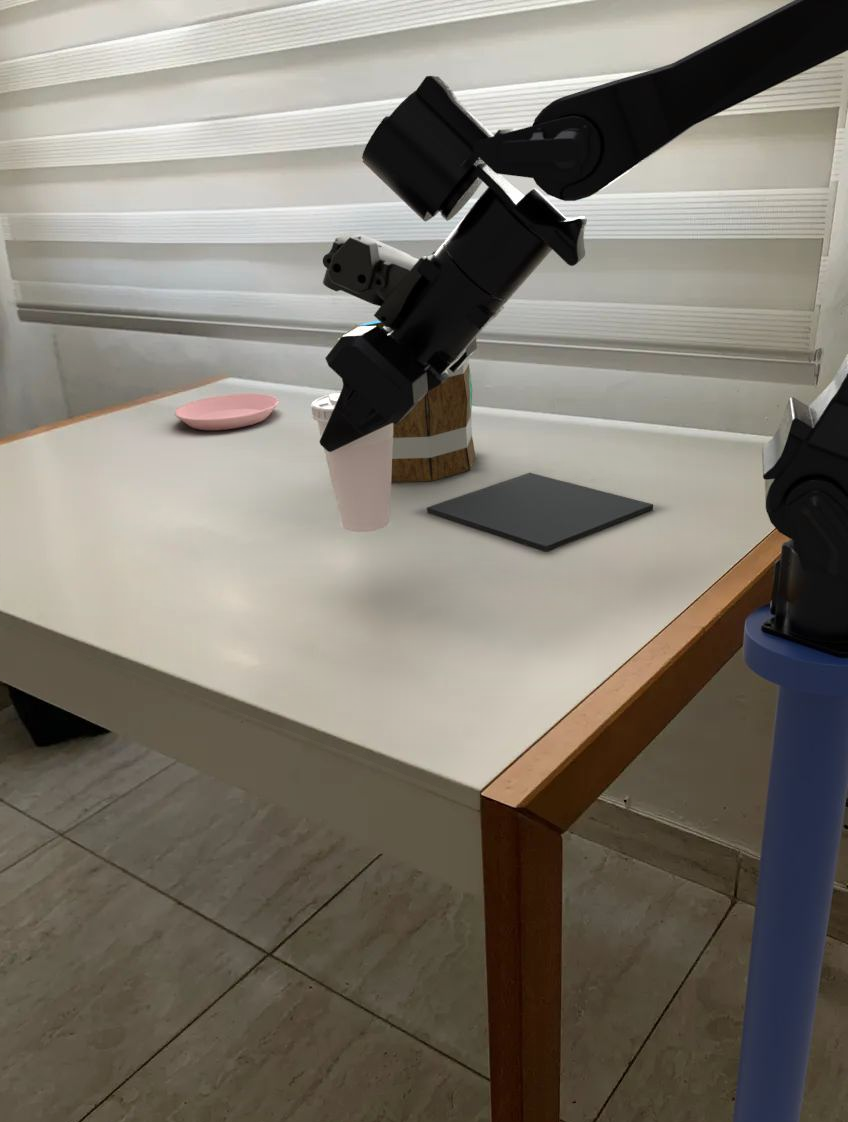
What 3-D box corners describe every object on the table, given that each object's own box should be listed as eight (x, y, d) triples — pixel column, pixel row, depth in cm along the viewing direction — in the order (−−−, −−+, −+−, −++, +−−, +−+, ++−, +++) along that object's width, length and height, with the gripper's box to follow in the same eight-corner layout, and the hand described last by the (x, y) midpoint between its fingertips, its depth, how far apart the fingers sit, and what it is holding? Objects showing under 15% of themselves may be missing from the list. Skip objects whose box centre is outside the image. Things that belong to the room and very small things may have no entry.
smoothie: (360, 505, 83) (342, 329, 77) (424, 516, 79) (410, 331, 73) (308, 530, 79) (284, 345, 73) (372, 543, 75) (353, 349, 69)
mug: (493, 472, 109) (488, 327, 102) (369, 489, 107) (356, 343, 100) (445, 429, 126) (439, 303, 120) (338, 444, 124) (326, 317, 118)
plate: (196, 440, 132) (194, 425, 131) (163, 420, 144) (161, 406, 143) (296, 419, 137) (295, 405, 136) (257, 402, 149) (255, 388, 148)
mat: (653, 509, 94) (653, 504, 94) (546, 551, 87) (546, 546, 87) (529, 477, 106) (529, 472, 106) (426, 512, 99) (426, 507, 99)
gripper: (425, 177, 75) (306, 336, 84) (340, 196, 60) (203, 389, 68) (534, 282, 76) (405, 430, 84) (478, 328, 60) (326, 503, 69)
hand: (340, 434), depth 76 cm, fingers closed on smoothie, 6 cm apart
